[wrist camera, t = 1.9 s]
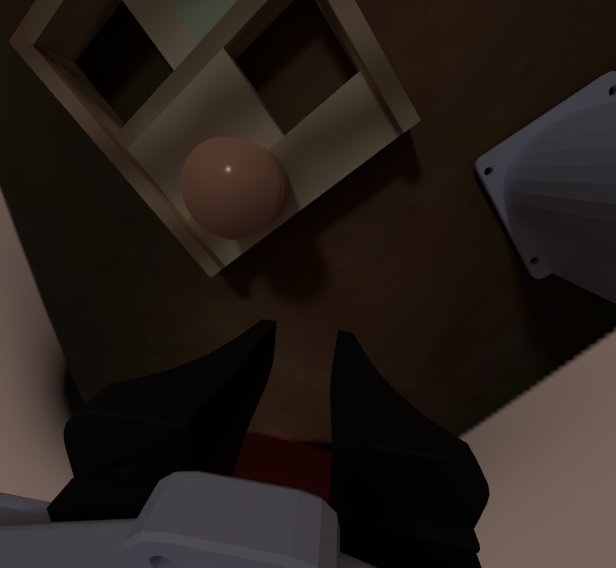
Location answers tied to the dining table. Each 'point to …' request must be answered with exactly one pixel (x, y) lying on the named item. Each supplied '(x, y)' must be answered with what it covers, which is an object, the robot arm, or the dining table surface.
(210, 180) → the brown rounded lump
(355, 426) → the robot arm
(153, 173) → the wooden frame
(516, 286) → the dining table surface
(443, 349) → the dining table surface
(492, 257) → the dining table surface
